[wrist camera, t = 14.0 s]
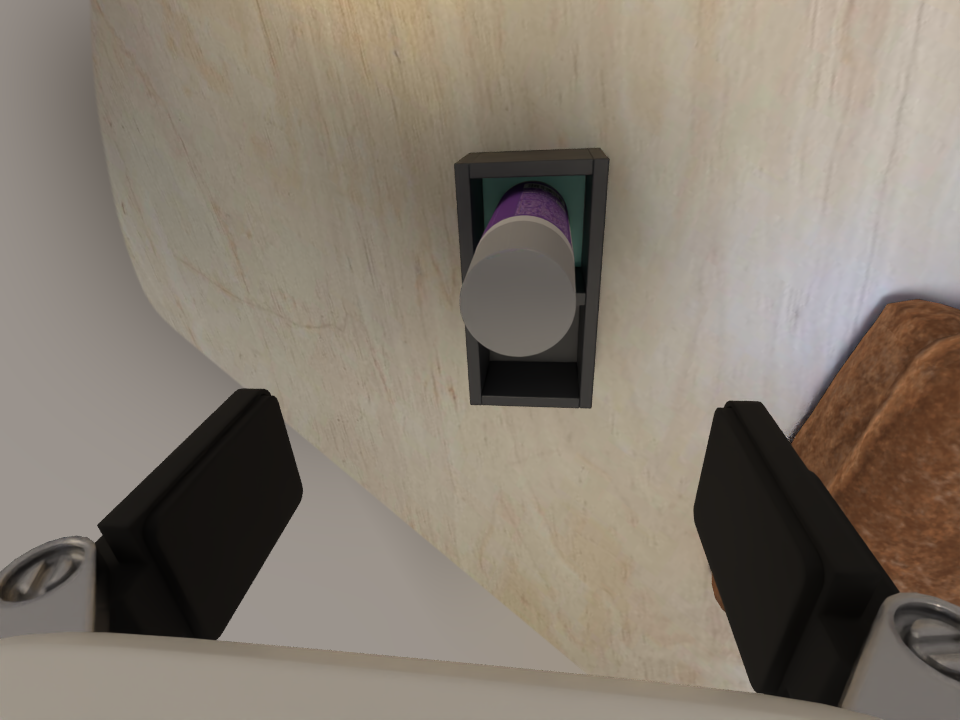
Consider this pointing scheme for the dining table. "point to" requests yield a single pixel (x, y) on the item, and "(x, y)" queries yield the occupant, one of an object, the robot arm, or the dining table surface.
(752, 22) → the dining table surface
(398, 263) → the dining table surface
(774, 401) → the dining table surface
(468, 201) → the dark grey divided box
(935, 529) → the bread
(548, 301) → the container
